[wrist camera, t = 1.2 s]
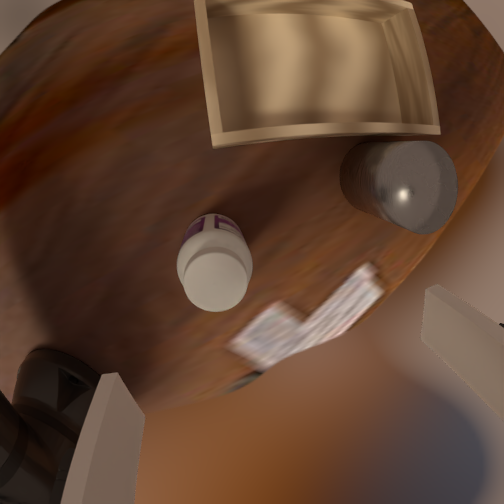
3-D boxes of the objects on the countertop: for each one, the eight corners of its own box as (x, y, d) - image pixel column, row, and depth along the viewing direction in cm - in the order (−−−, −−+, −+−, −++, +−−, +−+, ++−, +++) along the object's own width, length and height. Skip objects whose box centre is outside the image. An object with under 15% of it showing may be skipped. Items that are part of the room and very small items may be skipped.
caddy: (212, 149, 24) (212, 146, 19) (195, 16, 20) (192, -14, 14) (404, 135, 26) (440, 134, 20) (382, 21, 21) (411, 3, 16)
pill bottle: (193, 274, 27) (185, 330, 18) (177, 221, 26) (158, 254, 17) (249, 260, 28) (266, 310, 19) (236, 206, 26) (248, 231, 17)
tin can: (342, 215, 28) (392, 240, 19) (336, 143, 25) (387, 140, 17) (399, 207, 28) (456, 228, 20) (395, 142, 26) (455, 142, 17)
